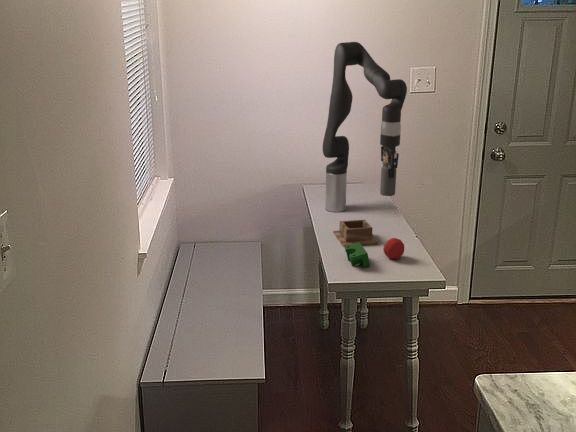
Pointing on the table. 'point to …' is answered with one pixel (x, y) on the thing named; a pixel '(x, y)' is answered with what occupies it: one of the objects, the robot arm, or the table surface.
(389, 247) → the tomato
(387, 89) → the robot arm
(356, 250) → the clamp
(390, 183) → the bottle
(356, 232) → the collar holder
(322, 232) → the table surface
